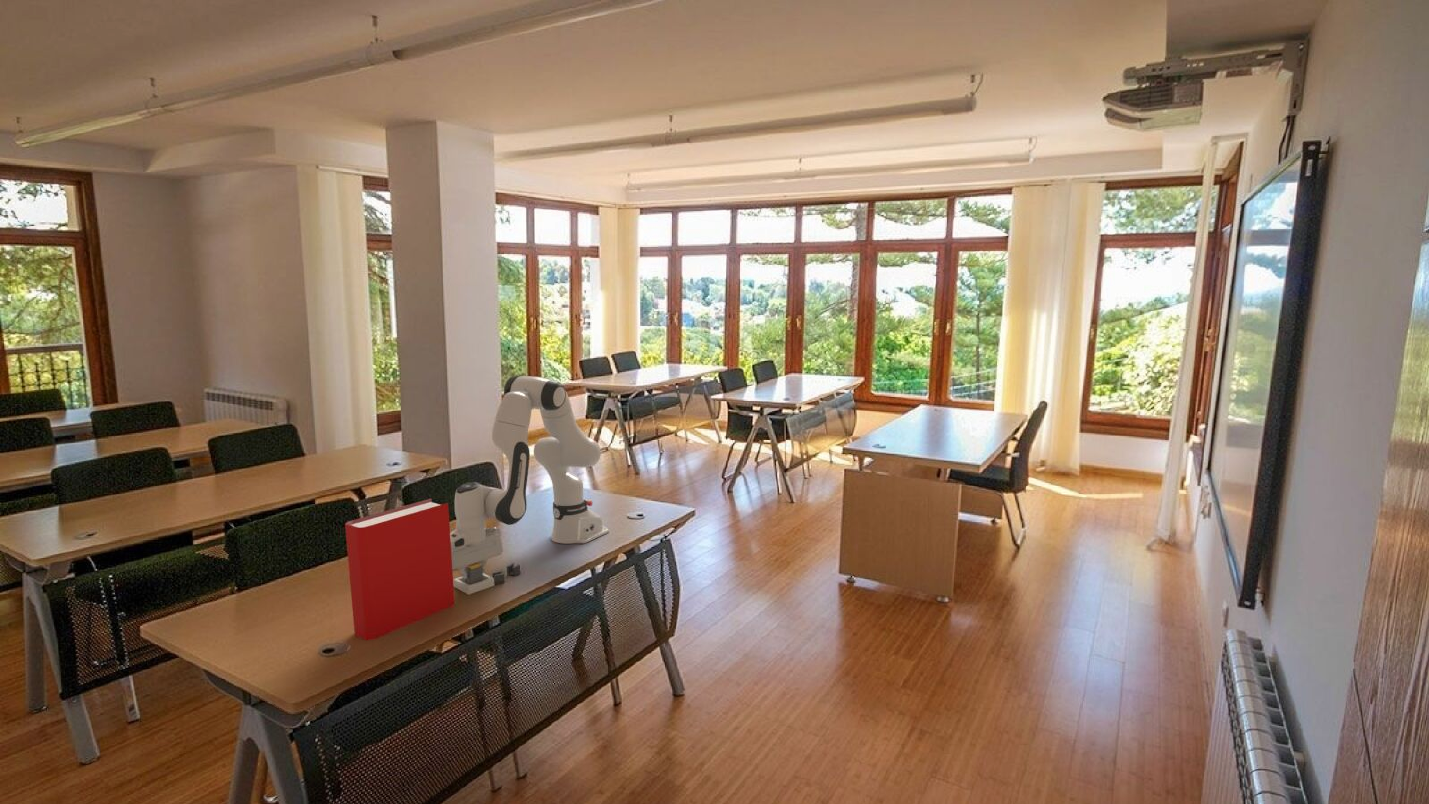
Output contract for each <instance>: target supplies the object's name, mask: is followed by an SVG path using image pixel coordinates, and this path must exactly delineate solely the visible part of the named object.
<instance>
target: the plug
mask: <svg viewBox="0 0 1429 804" xmlns="http://www.w3.org/2000/svg"><path fill="white" fill-rule="evenodd" d="M480 565H481V562H476V563H473V564H470V565H467V566H466V569H464V570H465V572H468V573H469V578H467V579H465V582H466V583H467V584H468V585H471V584H474V583H477V582H480V581H483V571H482V566H480Z"/></svg>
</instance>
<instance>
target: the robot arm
mask: <svg viewBox="0 0 1429 804" xmlns="http://www.w3.org/2000/svg"><path fill="white" fill-rule="evenodd" d="M532 410H539V411H540V415H541V419H542V422H543V426H544V430H545V431H546V433H547V434H548V435H549V436H547V437H541V438H539V439H538V440H537V441H536V442H535V444H534V448H533V457H534V459H535V461H536V462H537V463H538V464H540V465H541V466H542V467H543V468H544V470H545V471H546V472H547V474H548V476H549V478H550V480H551V483H552V490H553V491H552V492H553V494H552V495H553V502H552V515H553V525H552V530H551V531H552V532H551V536H550V540H551V541H552V542H554V543H556V544H557V543H558V544H565V545H566V544H568V545H569V544H586V543H588V542H591V541H593V540H595V539H597V538H598V537H599V538H600V537H601V536H603V535H605V534H608V533H610V532H609V528H608V527H606V526H604V525H603V521H602V518H601V516H600V515H599V514H597V513H595V511H593V510H591V509H590V508H588V506H589V507H592V506H593V501H592V500H588V499H587V500H586V499H584V483H583V480H582V478H580V477H579V476H578V475H577V474H575V473H574V472H573V471H572V470H571V468H590V467H594V466H596V464H598V462H599V461H600V459H601V455H602V453H601V451H602V450H601V447H600V445H599V443H598V442H597V441H596V440H594V439H592V438H591V437H589V436H588V435H587V434H586V433H585V432H584V431H583V430H582V429H581V428H580V426H579V425H578V423H577V421H576V418H575V415H574V412H573V408H572V405H571V401H570V397H569V395H568V392H567V391H566V388H565V386H564V384H563V383H561V382H559V381H558V380H555V379H549V378H546V377H541V376H532V375H531V376H529V375H522V374H518V375H517V374H516V375H512V376H510V377H509V378H508V379H507V381H505V383H504V387H503V397H502V399H501V401H500V403H499V406H498V409H497V412H496V415H495V419H494V422H493V426H492V431H491V433H492V434H491V437H492V441H493V443H494V445H495V447H496V448H497V449H498V450H499V451H500V452H502V454H504V456H505V457H506V459H507V461H508V464H509V466H508V476H507V484H506V489H501V488H498V487H492V486H487V485H482V484H480V483H479V482H476V481H473V482H472V481H471V482H466V483H464V484H461V485H460V486H459V487H457V488H456V490H455V494H454V514H455V515H454V516H455V517H456V523H455V528H454V529H453V530H452V531H450V539H451V555H452V571H455V570H457V569H459V571H460V573H461V575H462V576H461V577H463V579H467V578H469V573H468V572H465V570H464V569H466V566H467V565H470V564H473V563H476V562H478V563H480V566H482V571H483V573H484V574H485V573H486V572H485V568H486V567H487V566H486V565H487V564H488V559H491V558H494V557H497V556H501V555H502V553H503V551H504V548H503V542H502V538H501V537H502V532H501V529H500V528H498V527H492V528H488V529H486V520H487V519H493V520H496V521H498V522H500V523H502V524H505V525H507V526H512V525H514V524H516V523H518V522H519V521H521V520H522V519H523V517H525V514H526V512H527V507H528V506H527V485H528V477H529V467H530V458H531V457H530V448H529V446H528V445H529V444H528V432H529V428H530V423H531V417H532Z"/></svg>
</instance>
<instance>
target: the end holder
mask: <svg viewBox="0 0 1429 804" xmlns="http://www.w3.org/2000/svg"><path fill="white" fill-rule="evenodd" d="M494 586H495V584H494V578H492V576H491V575H488V574H486V573H485V572H484V573H483V581H480V582H477V583H474V584H471V585H470V584H468V583H466V582H465V579H463V577H462V576H459V577H455V578H453V587H454V588H455V589H458V590H459V591H461V592H463V593H465V594H466V595H472V594H476V593H478V592H480V591H483V590H486V589H489V588H492V587H494Z"/></svg>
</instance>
